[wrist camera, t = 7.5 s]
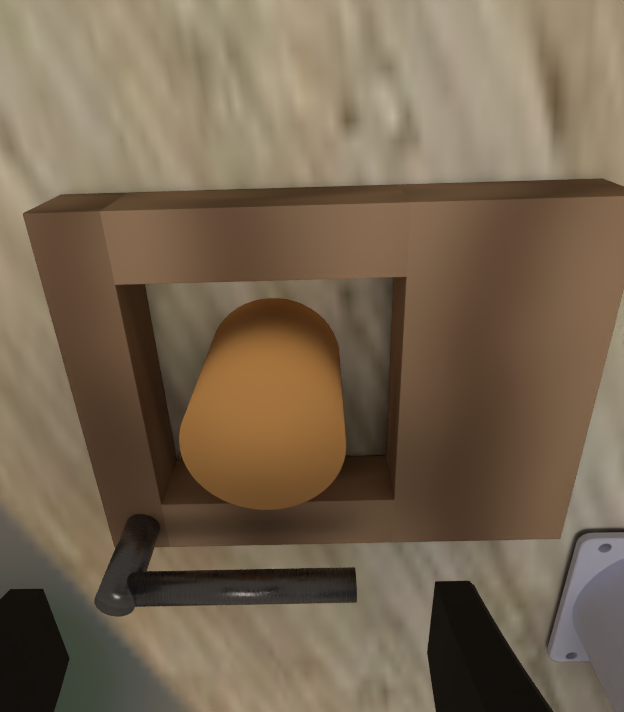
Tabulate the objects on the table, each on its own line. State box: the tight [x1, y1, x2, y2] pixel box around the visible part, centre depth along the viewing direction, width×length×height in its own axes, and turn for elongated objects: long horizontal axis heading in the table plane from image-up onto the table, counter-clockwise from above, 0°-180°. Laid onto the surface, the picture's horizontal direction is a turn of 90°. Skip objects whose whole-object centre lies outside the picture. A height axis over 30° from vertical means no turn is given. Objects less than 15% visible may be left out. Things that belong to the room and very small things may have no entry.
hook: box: [94, 514, 357, 616], centre depth 19 cm, size 8×1×6 cm, turn 92°
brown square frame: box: [23, 179, 624, 548], centre depth 18 cm, size 16×12×2 cm
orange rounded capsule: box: [179, 298, 346, 510], centre depth 17 cm, size 4×4×5 cm
